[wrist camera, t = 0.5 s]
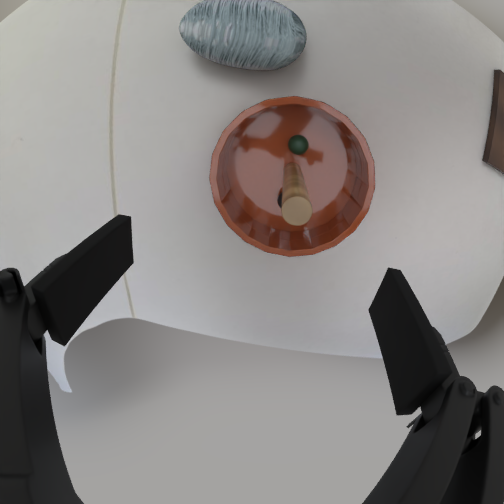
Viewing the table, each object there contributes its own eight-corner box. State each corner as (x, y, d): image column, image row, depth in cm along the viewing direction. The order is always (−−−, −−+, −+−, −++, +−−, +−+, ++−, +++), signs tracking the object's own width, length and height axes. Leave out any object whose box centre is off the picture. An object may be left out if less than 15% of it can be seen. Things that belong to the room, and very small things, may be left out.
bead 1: (279, 186, 33) (278, 191, 31) (298, 190, 33) (299, 196, 31) (275, 204, 34) (275, 211, 32) (294, 208, 34) (294, 214, 32)
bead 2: (289, 132, 30) (290, 133, 28) (309, 136, 30) (311, 137, 27) (286, 151, 31) (286, 153, 29) (305, 155, 31) (307, 158, 29)
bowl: (232, 91, 28) (221, 86, 23) (373, 121, 28) (391, 122, 23) (215, 221, 37) (203, 240, 32) (341, 245, 36) (349, 268, 31)
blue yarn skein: (327, 12, 20) (296, 5, 14) (304, 77, 27) (269, 95, 22) (225, -10, 21) (170, -11, 16) (214, 48, 29) (162, 62, 24)
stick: (285, 160, 31) (284, 193, 18) (303, 164, 31) (315, 199, 18) (282, 177, 32) (278, 222, 19) (299, 181, 32) (308, 228, 19)
